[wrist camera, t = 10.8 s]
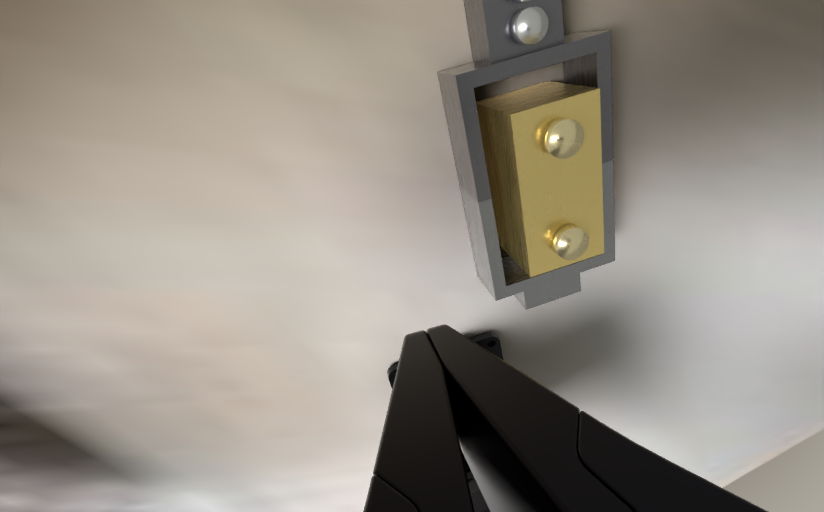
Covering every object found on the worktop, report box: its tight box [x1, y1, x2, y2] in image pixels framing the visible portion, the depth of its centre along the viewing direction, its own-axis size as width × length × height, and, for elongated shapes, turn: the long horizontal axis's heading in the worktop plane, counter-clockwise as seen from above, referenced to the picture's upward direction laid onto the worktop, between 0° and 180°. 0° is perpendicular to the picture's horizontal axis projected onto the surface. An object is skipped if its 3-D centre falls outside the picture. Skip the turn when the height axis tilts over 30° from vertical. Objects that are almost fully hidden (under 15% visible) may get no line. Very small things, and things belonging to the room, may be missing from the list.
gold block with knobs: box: [476, 81, 604, 277], centre depth 19 cm, size 7×4×5 cm, turn 13°
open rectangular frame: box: [437, 0, 615, 309], centre depth 19 cm, size 15×6×3 cm, turn 13°
